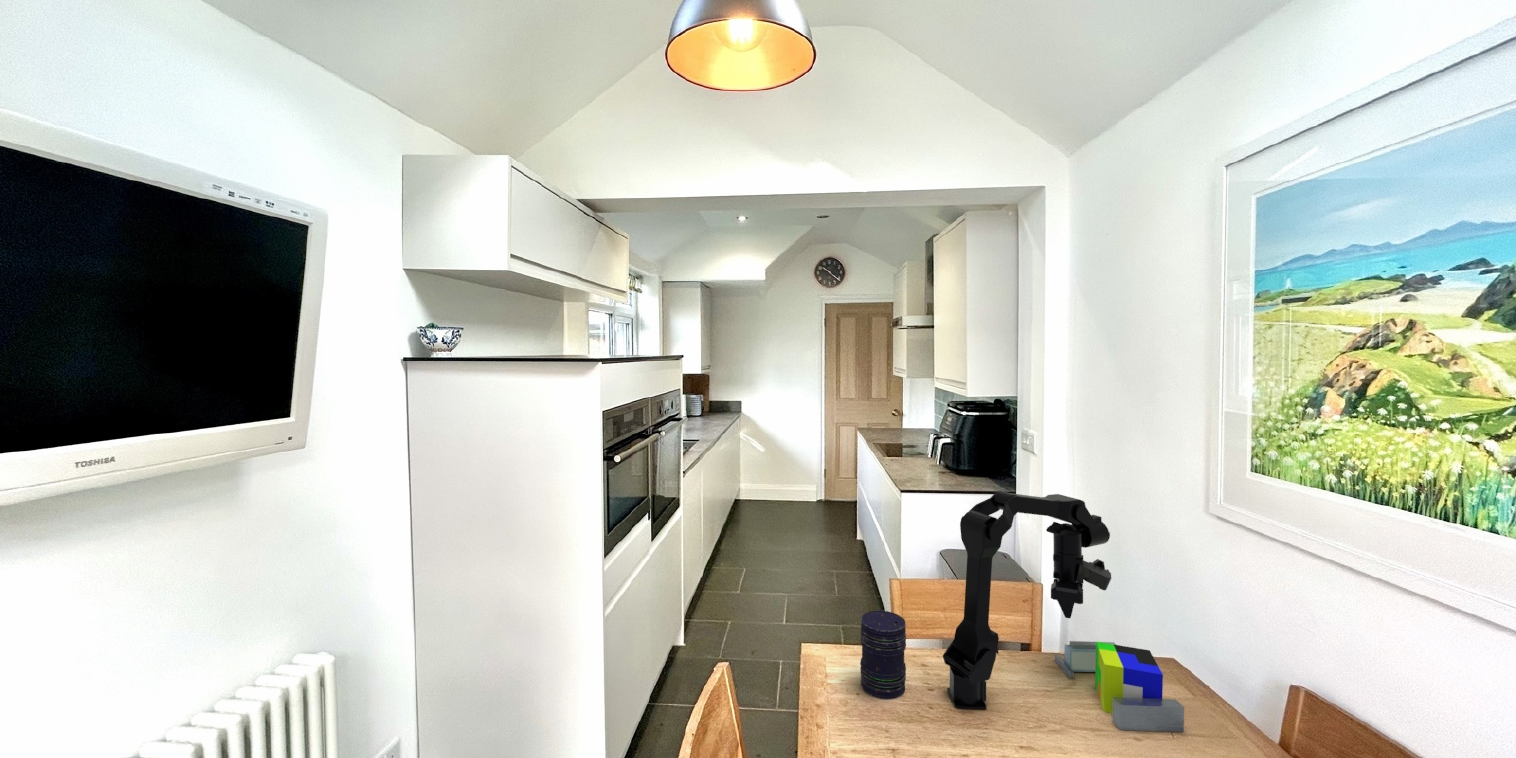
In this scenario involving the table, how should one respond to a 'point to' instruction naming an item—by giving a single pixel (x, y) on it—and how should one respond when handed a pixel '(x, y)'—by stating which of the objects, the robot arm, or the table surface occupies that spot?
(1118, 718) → the grey rail base
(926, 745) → the table surface
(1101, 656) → the puzzle toy
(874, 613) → the storage jar
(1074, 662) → the bar
